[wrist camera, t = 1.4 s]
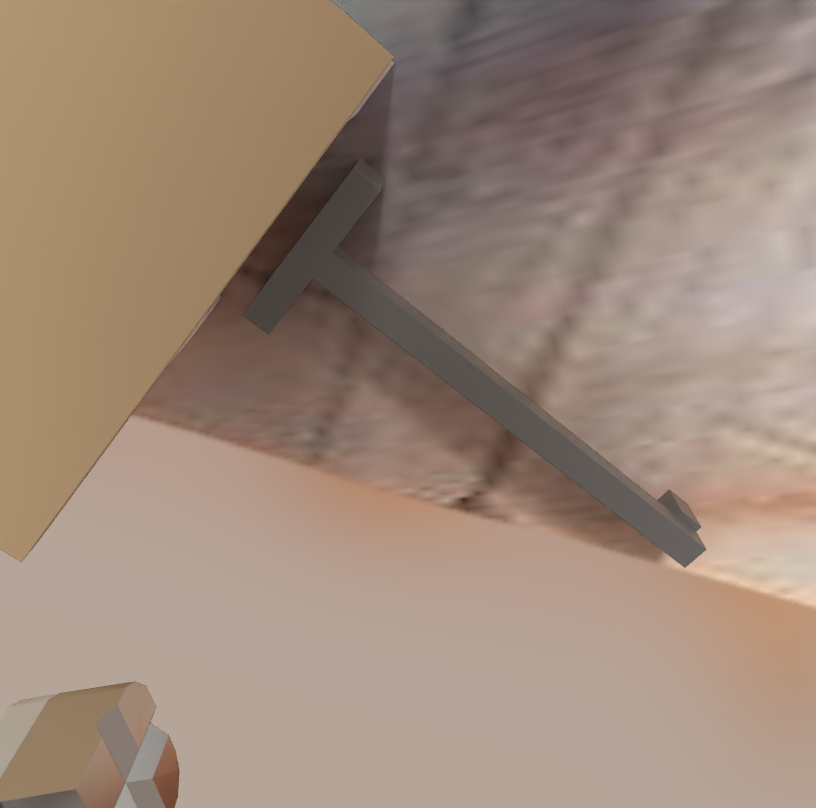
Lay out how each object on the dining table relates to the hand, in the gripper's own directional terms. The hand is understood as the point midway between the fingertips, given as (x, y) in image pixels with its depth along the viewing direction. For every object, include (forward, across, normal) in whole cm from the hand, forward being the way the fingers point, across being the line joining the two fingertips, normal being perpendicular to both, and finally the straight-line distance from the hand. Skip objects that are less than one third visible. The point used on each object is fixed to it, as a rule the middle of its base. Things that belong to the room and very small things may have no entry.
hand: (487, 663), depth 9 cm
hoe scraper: (+34, -3, +10) cm, 35 cm away
